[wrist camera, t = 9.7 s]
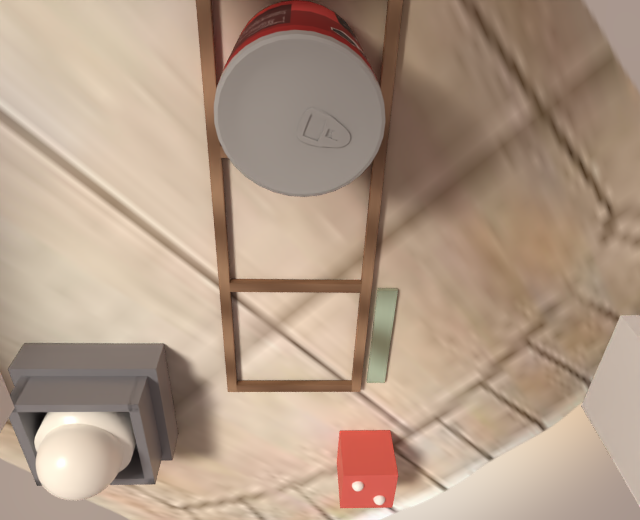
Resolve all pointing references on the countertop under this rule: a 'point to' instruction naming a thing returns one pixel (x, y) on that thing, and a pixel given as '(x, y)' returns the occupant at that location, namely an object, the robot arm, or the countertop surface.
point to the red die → (366, 469)
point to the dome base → (97, 397)
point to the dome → (82, 451)
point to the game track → (363, 286)
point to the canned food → (299, 102)
